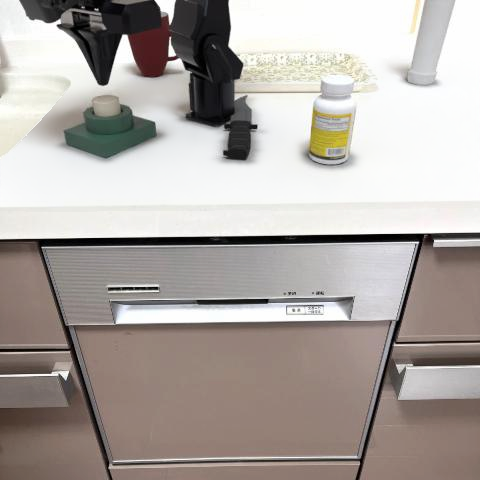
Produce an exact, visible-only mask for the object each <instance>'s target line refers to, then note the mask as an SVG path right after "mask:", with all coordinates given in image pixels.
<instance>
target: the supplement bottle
mask: <svg viewBox="0 0 480 480" xmlns="http://www.w3.org/2000/svg"><path fill="white" fill-rule="evenodd" d="M354 88H355V79H354V77H351V76H349V75H344V74H329V75H324V76H323V77H322V78H321V79H320V88H319V89H320V92H321V94H320V95H317V96H316V98H315V99H314V101H313V105H312V113H311V125H310V126H311V127H310V137H309V146H308V156H309V158H310V159H311V160H312V161H314V162H316V163H318V164H323V165H339V164H342V163H344V162H346V161H347V160H348V159H349V156H350V152H351V144H352V139H353V133H354V126H355V118H356V113H357V101H356V99H355V98H354V97H353V96H351V95H352V94H353V93H354Z"/></svg>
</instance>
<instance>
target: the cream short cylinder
mask: <svg viewBox="0 0 480 480" xmlns="http://www.w3.org/2000/svg"><path fill="white" fill-rule="evenodd" d="M91 102H92V103H91V104H92V106H93V109H94V114H95V115H96V116H101V117H108V116H115V115H118V114H121V109H120V104H121V102H120V98H119V96H117V95H113V94H101V95H97V96H94V97H92V99H91Z"/></svg>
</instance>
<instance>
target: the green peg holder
mask: <svg viewBox="0 0 480 480" xmlns="http://www.w3.org/2000/svg"><path fill="white" fill-rule="evenodd" d="M120 109H121V114H118V115H115V116H108V117H101V116H96V115H95V114H94V109H93V105H91V106H89V107H86V109H85V110H83V112H82V116H83V121H84V122H82V123H79V124H77V125H74V126H72V127H68V128H66V129H63V135H64V140H65V143H66V145H67V146H70V147H73V148H76V149H78V150H81V151H84V152H86V153H89V154H92V155H95V156H98V157H101V158H104V159H107V158H111V157H112V156H114V155H117V154H119V153H121V152H123V151H125V150H127V149H128V150H129V149H130V148H132V147H134V146H137V145H139V144H141V143H144V142H147V141H148V140H151V139H153V138H154V137H157V136H158V135H157V126H156V125H157V124H156V121H153V120H151V119H147V118H144V117H140V116H136V115H134V113H133V109H132V108H131V107H130V106H128V105H125V104H121V103H120Z"/></svg>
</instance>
